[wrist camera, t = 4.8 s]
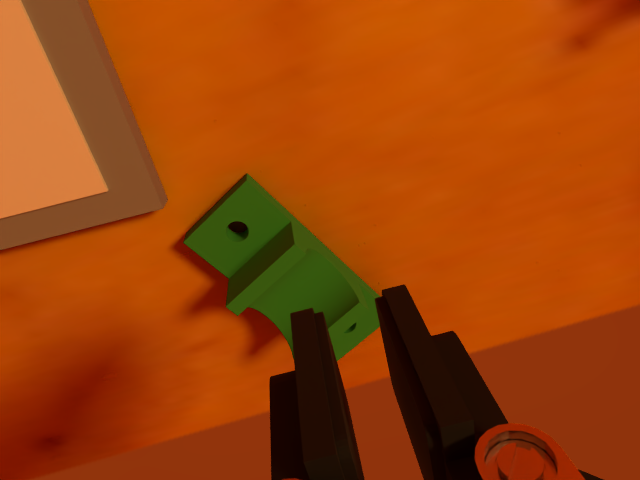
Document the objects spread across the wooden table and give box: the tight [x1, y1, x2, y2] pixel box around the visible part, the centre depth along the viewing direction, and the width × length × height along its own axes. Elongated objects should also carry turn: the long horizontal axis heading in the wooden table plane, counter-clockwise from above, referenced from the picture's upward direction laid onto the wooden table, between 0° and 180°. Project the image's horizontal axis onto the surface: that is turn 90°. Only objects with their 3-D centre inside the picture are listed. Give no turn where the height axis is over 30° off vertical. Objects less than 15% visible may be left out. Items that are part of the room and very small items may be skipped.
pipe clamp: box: [183, 174, 380, 361], centre depth 24 cm, size 11×4×5 cm
